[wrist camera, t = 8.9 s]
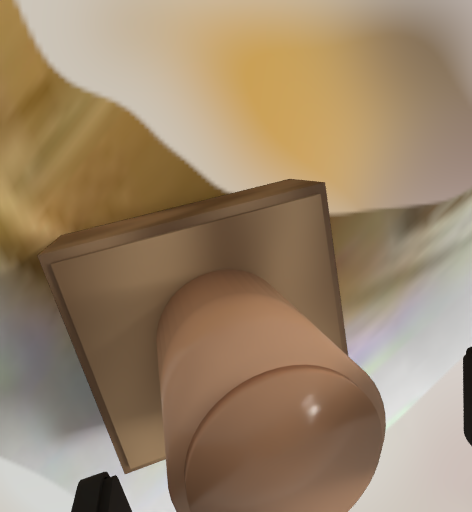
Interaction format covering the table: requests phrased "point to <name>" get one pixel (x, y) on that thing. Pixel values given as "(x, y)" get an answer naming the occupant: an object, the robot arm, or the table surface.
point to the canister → (260, 403)
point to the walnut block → (174, 278)
